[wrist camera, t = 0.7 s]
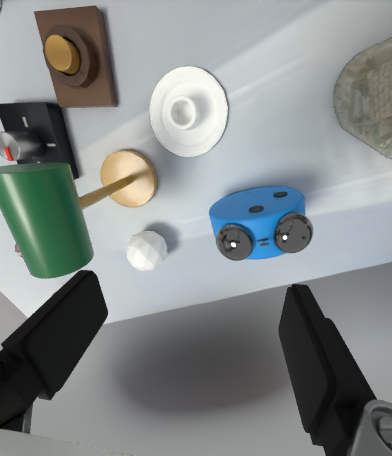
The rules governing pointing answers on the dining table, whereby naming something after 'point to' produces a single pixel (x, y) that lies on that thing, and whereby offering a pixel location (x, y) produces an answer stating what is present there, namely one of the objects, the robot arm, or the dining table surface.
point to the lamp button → (62, 54)
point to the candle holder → (188, 111)
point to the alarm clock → (261, 223)
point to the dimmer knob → (20, 145)
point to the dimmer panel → (41, 130)
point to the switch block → (89, 57)
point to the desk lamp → (65, 208)
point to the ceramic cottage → (367, 97)
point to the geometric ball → (146, 250)
